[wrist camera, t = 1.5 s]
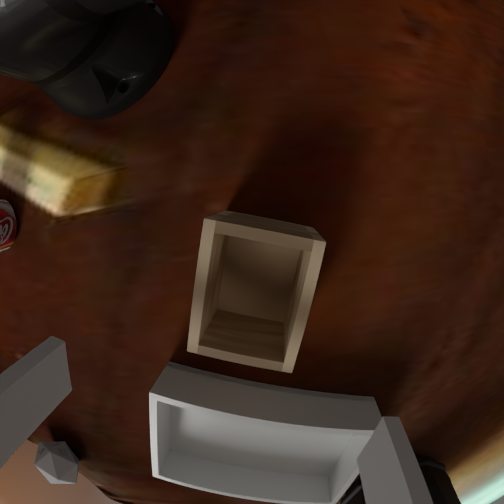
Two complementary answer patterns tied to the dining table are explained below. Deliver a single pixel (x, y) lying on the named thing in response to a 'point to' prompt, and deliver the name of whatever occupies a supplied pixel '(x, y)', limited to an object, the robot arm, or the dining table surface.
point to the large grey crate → (256, 437)
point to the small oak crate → (253, 289)
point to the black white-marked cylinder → (432, 475)
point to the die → (57, 462)
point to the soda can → (7, 225)
